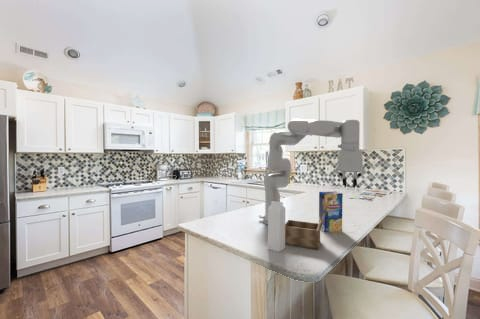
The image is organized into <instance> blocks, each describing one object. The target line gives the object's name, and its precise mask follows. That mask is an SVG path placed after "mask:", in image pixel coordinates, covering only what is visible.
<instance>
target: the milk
mask: <svg viewBox="0 0 480 319" xmlns="http://www.w3.org/2000/svg"><path fill="white" fill-rule="evenodd" d="M283 204H284V203H283V201H280V202H277V201H271V205H270V207H269V208H268V224H267V249H268V250H271V251H274V252H277V253H280V252H282V251H283V250H284V249H286V245H285V224H286V207H285V206H284V205H283Z"/></svg>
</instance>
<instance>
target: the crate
mask: <svg viewBox="0 0 480 319" xmlns="http://www.w3.org/2000/svg"><path fill="white" fill-rule="evenodd" d="M319 226H320V224H319V222H318V223H317V222H308V221H300V220H293V219H289V220H287V221H286V222H285V246H291V247H296V248H302V249H309V250H314V251H318V250H319V247H320V243H321V230H320V231H319Z"/></svg>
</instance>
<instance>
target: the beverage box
mask: <svg viewBox="0 0 480 319" xmlns="http://www.w3.org/2000/svg"><path fill="white" fill-rule="evenodd" d="M329 193H330V194H331V197H332V200H329V204H328V207H327V211H326V214H325V217H324V220H323V223H322V226H321V230H320V231H322V232H324V233H330V232H331V233H332V232H343V192H339V191H319V192H318V223H319V224H320V223H321V220H322V216H323V213H324V210H325V207H326V203H327V200H328V197H329Z"/></svg>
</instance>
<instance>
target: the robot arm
mask: <svg viewBox="0 0 480 319" xmlns="http://www.w3.org/2000/svg"><path fill="white" fill-rule="evenodd" d="M360 127H361V125H360V121H359V120H358V119H345V120H343V121H342V122H339V121H333V120H322V119H321V120H320V119H309V118H307V119H305V118H303V119H302V118H293V119H291V120H289V121H288V123H287V129H288V131H285V130H277V131H274V132H273V133H272V134H271V135H270V136H269V141H268V142H269V143H268V144H269V152H268V162H267V169H268V171H269V172H271V173H270V174H269V173H268V174H266V175H265V176H264V178H263V184H264V193H265V194H264V195H265V200H264V202H265V203H264V206H265V211H264V214H258V215H259V216H258V217H259V219H262V223H263V224H265V225H268V208H269V207H270V205H271V201H277V202H281V194H280V191H279V189H282V188H286V187H287V186H289V183H290V177H291V170H292V163H291V161H290V159H289V158H287V157H285V156H284V154H283V153H284V152H283V147H282V146H296V145H297V144H299V143H300V142H302V140H303V139H304V138H306V136H318V137H325V138H336V139H337V138H340V143H341V144H337V148H338V149H340V150H339V151H338V156H337V166H336V168H335V169H334V174H337V175H339V176H340V177H341V178H342V186H344V188H346V187H347V177H346V173H353V179H352V188H353V189H355V188H356V187H357V185H358V179H359V178H360V177H362V175H363V176H364V175H366V174H367V171H366V169H365V167H364V165H363V162H364V161H363V153H362V150H361V149H360V134H361V133H360V132H361V131H360V129H361V128H360Z"/></svg>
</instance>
